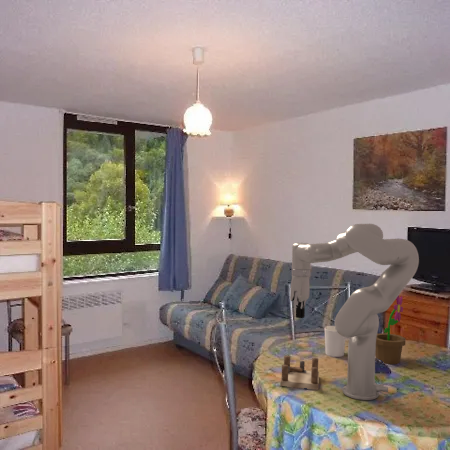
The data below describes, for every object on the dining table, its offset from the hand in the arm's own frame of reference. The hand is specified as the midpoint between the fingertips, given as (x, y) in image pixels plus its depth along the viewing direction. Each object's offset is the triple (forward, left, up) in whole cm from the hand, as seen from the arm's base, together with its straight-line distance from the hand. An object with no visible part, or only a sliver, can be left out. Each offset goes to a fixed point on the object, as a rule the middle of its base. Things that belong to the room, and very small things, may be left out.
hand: (300, 317), depth 194 cm
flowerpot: (-38, -23, -22) cm, 50 cm away
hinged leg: (+2, +7, -20) cm, 21 cm away
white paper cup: (-15, -26, -22) cm, 37 cm away
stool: (-1, +12, -22) cm, 25 cm away
